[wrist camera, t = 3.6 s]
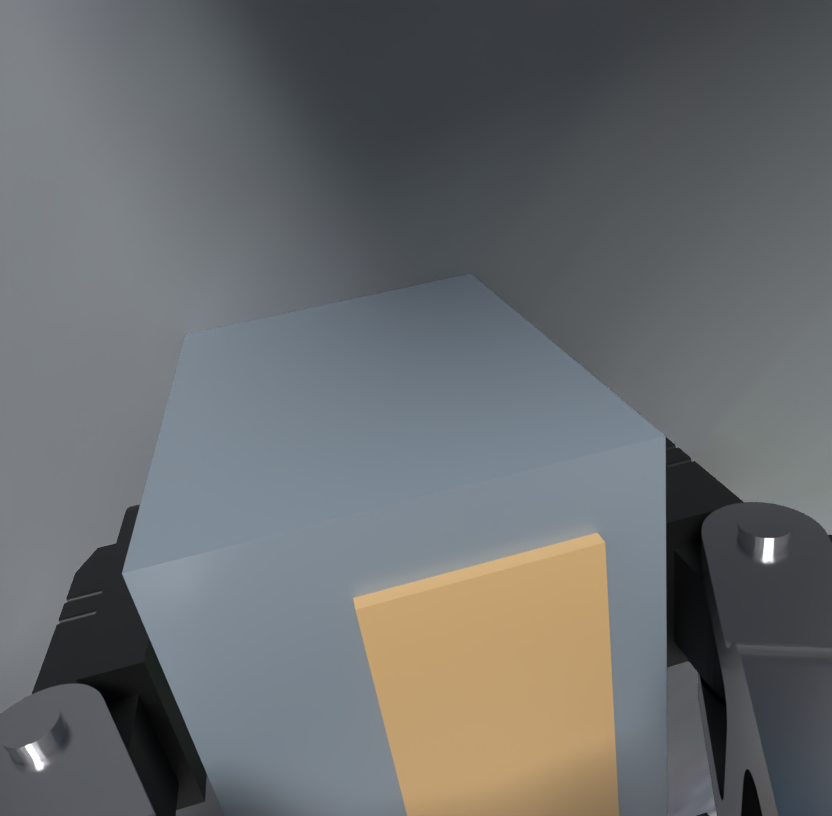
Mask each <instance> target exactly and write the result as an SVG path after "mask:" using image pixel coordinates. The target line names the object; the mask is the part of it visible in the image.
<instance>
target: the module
mask: <svg viewBox="0 0 832 816" xmlns="http://www.w3.org/2000/svg"><path fill="white" fill-rule="evenodd" d="M122 575H123V577H124V580H125V582H126V584H127V587H128V589H129V592H130V594H131V596H132V599H133V601H134V603H135V606H136V608H137V610H138V613H139V615H140V617H141V620H142V622H143V625H144V627H145V629H146V632H147V634H148V636H149V639H150V641H151V643H152V646H153V648H154V650H155V653H156V655H157V658H158V660H159V662H160V665H161V667H162V669H163V672H164V674H165V676H166V679H167V681H168V684H169V686H170V688H171V691H172V693H173V695H174V698H175V700H176V702H177V705H178V707H179V709H180V712H181V714H182V717H183V719H184V721H185V724H186V726H187V728H188V731H189V733H190V735H191V738H192V740H193V742H194V745H195V747H196V750H197V752H198V754H199V757H200V759H201V761H202V764H203V766H204V768H205V771H206V773H207V775H208V778H209V780H210V783H211V785H212V787H213V790H214V792H215V794H216V797H217V799H218V801H219V804H220V806H221V808H222V811H223V813H224V816H667V626H666V436H665V435H664V434H662V433H661V432H660V431H659V430H658V429H656V428H655V427H654V426H653V425H652V424H650V423H649V422H648V421H647V420H646V419H644V418H643V417H642V416H641V415H640V414H638V413H637V412H636V411H635V410H634V409H633V408H631V407H630V406H629V405H628V404H627V403H625V402H624V401H623V400H622V399H621V398H619V397H618V396H617V395H616V394H615V393H613V392H612V391H611V390H610V389H609V388H607V387H606V386H605V385H604V384H603V383H601V382H600V381H599V380H598V379H597V378H595V377H594V376H593V375H592V374H591V373H589V372H588V371H587V370H586V369H585V368H583V367H582V366H581V365H580V364H579V363H577V362H576V361H575V360H574V359H573V358H571V357H570V356H569V355H568V354H567V353H565V352H564V351H563V350H562V349H561V348H560V347H558V346H557V345H556V344H555V343H554V342H552V341H551V340H550V339H549V338H548V337H546V336H545V335H544V334H543V333H542V332H540V331H539V330H538V329H537V328H536V327H534V326H533V325H532V324H531V323H530V322H528V321H527V320H526V319H525V318H524V317H522V316H521V315H520V314H519V313H518V312H516V311H515V310H514V309H513V308H512V307H510V306H509V305H508V304H507V303H506V302H504V301H503V300H502V299H501V298H500V297H498V296H497V295H496V294H495V293H494V292H493V291H491V290H490V289H489V288H488V287H487V286H485V285H484V284H483V283H482V282H481V281H479V280H478V279H477V278H476V277H475V276H473V275H472V274H471V273H470V274H465V275H460V276H456V277H451V278H446V279H442V280H437V281H433V282H428V283H423V284H419V285H414V286H409V287H405V288H400V289H395V290H391V291H386V292H381V293H377V294H372V295H367V296H363V297H358V298H353V299H349V300H344V301H339V302H335V303H330V304H326V305H321V306H316V307H312V308H307V309H302V310H298V311H293V312H288V313H284V314H279V315H274V316H270V317H265V318H260V319H256V320H251V321H246V322H242V323H237V324H232V325H228V326H223V327H218V328H214V329H209V330H205V331H200V332H195V333H191V334H186V335H185V338H184V342H183V345H182V349H181V353H180V357H179V360H178V364H177V368H176V372H175V376H174V379H173V383H172V387H171V391H170V394H169V398H168V402H167V406H166V409H165V413H164V417H163V421H162V424H161V428H160V432H159V436H158V440H157V443H156V447H155V451H154V455H153V458H152V462H151V466H150V470H149V473H148V477H147V481H146V485H145V488H144V492H143V496H142V500H141V504H140V507H139V511H138V515H137V519H136V522H135V526H134V530H133V534H132V537H131V541H130V545H129V549H128V552H127V556H126V560H125V564H124V568H123V571H122Z"/></svg>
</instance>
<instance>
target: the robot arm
mask: <svg viewBox="0 0 832 816" xmlns="http://www.w3.org/2000/svg"><path fill="white" fill-rule="evenodd" d="M139 507H140V505H136V506H132V507H129V508H127V510H126V512H125V516H124V519H123V522H122V526H121V529H120V533H119V536H118V539H117V543H116V544H112V545H108V546H104V547H100V548H97V550H96V551H95V552H94V553H93V554H92V555H91V556H90V557H89V559H88V560H87V561H86V562H85V563H84V564H83V565H82V567H81V568H80V569H79V570H78V571H77V572H76V573H75V576H74V579H73V582H72V584H71V587H70V590H69V593H68V596H67V603H65V604H64V607H63V609H62V612H61V615H60V618H59V621H60V624H58V625H57V626H56V629H55V631H54V634H53V637H52V640H51V643H50V645H49V648H48V651H47V654H46V656H45V659H44V662H43V665H42V667H41V670H40V673H39V676H38V678H37V681H36V684H35V687H34V690H33V692H32V695H30V696H28V697H26V698H24V699H22V700H21V701H19V702H17V703H16V704H14V705H13V706H11V707H10V708H9V709H7V710H6V711H4V712H3V713H2V714H1V715H0V816H176V810H179V809H182V808H186V807H189V806H193V805H196V804H199V803H203V802H205V795H206V780H207V773H206V771H205V768H204V766H203V764H202V761H201V759H200V757H199V754H198V752H197V750H196V747H195V745H194V742H193V740H192V738H191V735H190V733H189V731H188V728H187V726H186V724H185V721H184V719H183V717H182V714H181V712H180V709H179V707H178V705H177V702H176V700H175V698H174V695H173V693H172V691H171V688H170V686H169V684H168V681H167V679H166V676H165V674H164V672H163V669H162V667H161V665H160V662H159V660H158V658H157V655H156V653H155V650H154V648H153V646H152V643H151V641H150V639H149V636H148V634H147V632H146V629H145V627H144V625H143V622H142V620H141V617H140V615H139V613H138V610H137V608H136V606H135V603H134V601H133V599H132V596H131V594H130V592H129V589H128V587H127V584H126V582H125V580H124V577H123V575H122V571H123V568H124V564H125V560H126V556H127V552H128V549H129V545H130V541H131V537H132V534H133V530H134V526H135V522H136V519H137V515H138V511H139ZM666 626H667V667H670V666H673V665H676V664H680V663H683V662H686V661H690V663H691V664H692V665H693V666H694V668H695V669H696V670H697V672H698V699H699V706H700V712H701V718H702V725H703V731H704V737H705V743H706V750H707V756H708V762H709V769H710V775H711V781H712V788H713V794H714V800H715V807H716V813H717V816H832V535H828V534H827V533H826V531H825V529H824V528H823V527H822V526H821V525H820V524H819V523H818V522H816V521H815V520H814V519H812V518H811V517H809V516H807V515H805V514H804V513H801V512H799V511H797V510H794V509H791V508H788V507H785V506H781V505H776V504H771V503H762V502H745V503H744V502H743V501H742V500H741V499H739V498H738V497H737V496H736V495H735V494H733V493H732V492H731V491H730V490H729V489H727V488H726V487H725V486H724V485H723V484H721V483H720V482H719V481H718V480H717V479H715V478H714V477H713V476H712V475H711V474H709V473H708V472H707V471H706V470H705V469H703V468H702V467H701V466H700V465H699V464H697V463H696V462H695V461H694V462H692V461H691V458H690V457H689V456H688V455H687V454H686V453H684V452H683V451H682V450H681V449H680V448H676V447H675V444H674V443H672V442H671V441H670V440H669V439H668V438H666ZM698 816H709V815H708V814H707V813H704V814H701V815H698Z"/></svg>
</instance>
